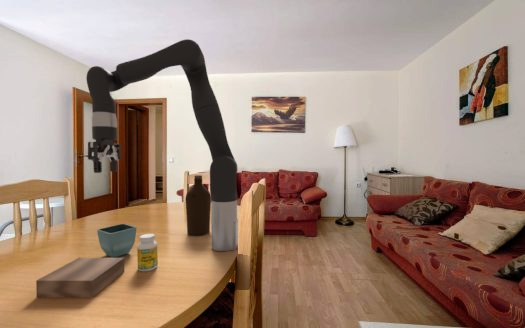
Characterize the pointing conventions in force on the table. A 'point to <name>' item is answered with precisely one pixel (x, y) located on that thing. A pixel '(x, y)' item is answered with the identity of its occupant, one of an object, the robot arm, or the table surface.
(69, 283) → the walnut plinth
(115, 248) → the flower pot
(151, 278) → the table surface
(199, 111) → the robot arm
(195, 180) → the olive oil
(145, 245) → the supplement bottle
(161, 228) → the table surface
